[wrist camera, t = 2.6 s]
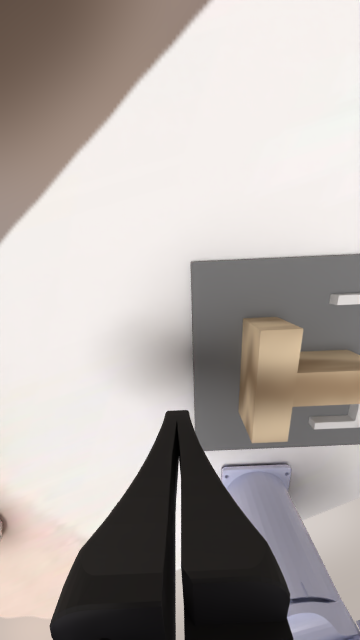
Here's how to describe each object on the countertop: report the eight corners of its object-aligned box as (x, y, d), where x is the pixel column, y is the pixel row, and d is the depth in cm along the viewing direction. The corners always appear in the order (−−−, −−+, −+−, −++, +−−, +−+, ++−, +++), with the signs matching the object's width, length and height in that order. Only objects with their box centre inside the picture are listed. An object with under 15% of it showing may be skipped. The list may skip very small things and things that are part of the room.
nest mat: (406, 437, 20) (422, 448, 19) (195, 446, 20) (196, 458, 19) (472, 249, 15) (501, 247, 14) (190, 262, 15) (191, 261, 14)
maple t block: (335, 407, 18) (370, 438, 15) (238, 411, 18) (252, 443, 15) (355, 313, 16) (403, 324, 12) (243, 318, 16) (260, 330, 12)
